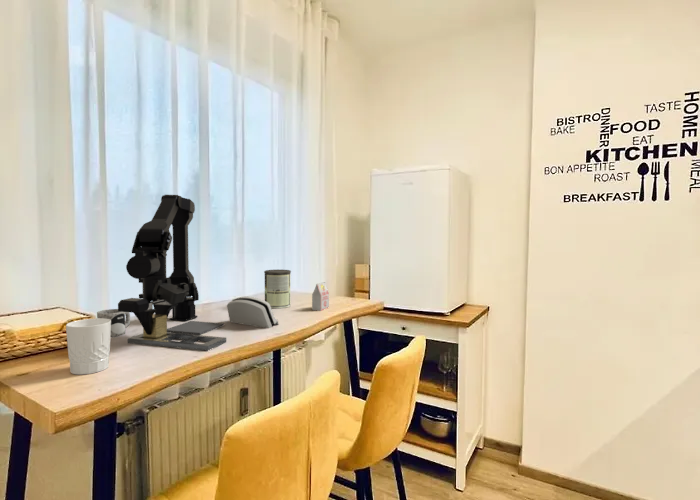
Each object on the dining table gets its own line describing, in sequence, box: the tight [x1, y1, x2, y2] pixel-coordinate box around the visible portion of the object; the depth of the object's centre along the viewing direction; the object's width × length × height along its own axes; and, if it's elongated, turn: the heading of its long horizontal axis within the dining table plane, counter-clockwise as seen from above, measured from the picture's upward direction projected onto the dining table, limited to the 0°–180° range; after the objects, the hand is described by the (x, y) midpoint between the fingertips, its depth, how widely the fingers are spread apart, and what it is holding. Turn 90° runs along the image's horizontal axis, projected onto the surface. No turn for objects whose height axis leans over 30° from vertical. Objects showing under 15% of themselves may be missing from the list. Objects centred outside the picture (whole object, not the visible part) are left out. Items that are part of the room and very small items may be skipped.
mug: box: [96, 308, 131, 338], centre depth 111 cm, size 10×7×7 cm
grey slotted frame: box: [127, 332, 227, 352], centre depth 102 cm, size 24×8×1 cm, turn 75°
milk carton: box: [311, 282, 330, 312], centre depth 149 cm, size 4×7×10 cm, turn 157°
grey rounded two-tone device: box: [226, 296, 280, 329], centre depth 123 cm, size 17×5×10 cm, turn 62°
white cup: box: [65, 317, 112, 376], centre depth 82 cm, size 8×8×10 cm
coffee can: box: [263, 269, 292, 310], centre depth 153 cm, size 10×10×14 cm
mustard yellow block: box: [142, 313, 168, 339], centre depth 104 cm, size 4×4×6 cm
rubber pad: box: [167, 320, 225, 335], centre depth 117 cm, size 12×12×1 cm
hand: (155, 332), depth 104 cm, fingers closed on mustard yellow block, 4 cm apart
